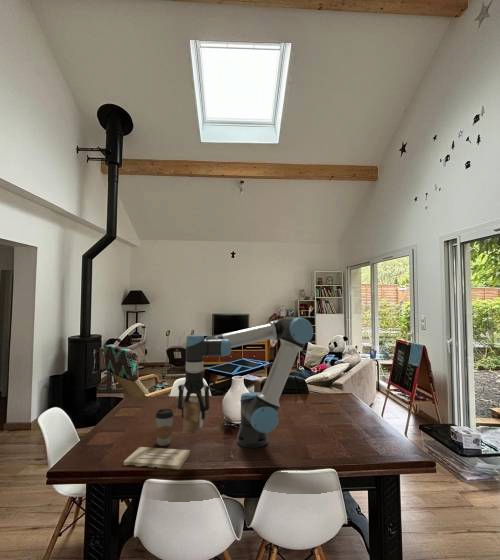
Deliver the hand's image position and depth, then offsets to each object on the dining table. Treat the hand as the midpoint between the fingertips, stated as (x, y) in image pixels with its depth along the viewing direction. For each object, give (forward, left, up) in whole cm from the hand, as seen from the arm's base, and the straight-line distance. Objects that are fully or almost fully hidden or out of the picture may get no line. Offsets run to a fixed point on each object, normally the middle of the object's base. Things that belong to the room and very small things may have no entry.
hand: (193, 426), depth 138 cm
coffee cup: (+20, -17, -15) cm, 30 cm away
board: (+16, -1, -15) cm, 22 cm away
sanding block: (0, 0, -1) cm, 1 cm away
